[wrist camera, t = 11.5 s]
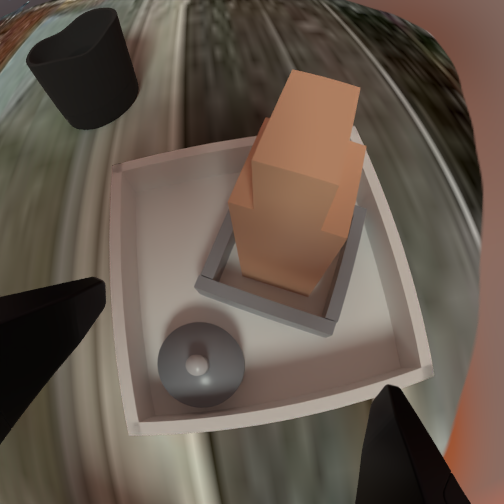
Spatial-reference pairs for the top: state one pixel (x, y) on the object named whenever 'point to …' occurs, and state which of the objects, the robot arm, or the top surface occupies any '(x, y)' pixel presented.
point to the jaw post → (298, 185)
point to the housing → (247, 304)
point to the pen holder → (87, 69)
